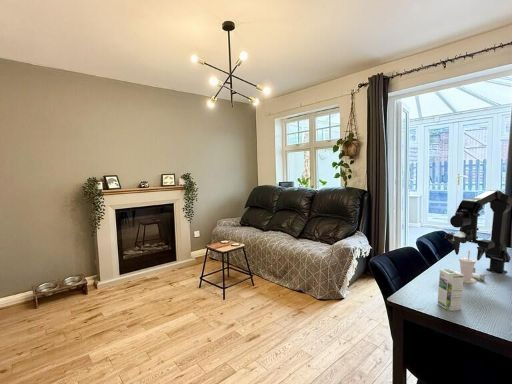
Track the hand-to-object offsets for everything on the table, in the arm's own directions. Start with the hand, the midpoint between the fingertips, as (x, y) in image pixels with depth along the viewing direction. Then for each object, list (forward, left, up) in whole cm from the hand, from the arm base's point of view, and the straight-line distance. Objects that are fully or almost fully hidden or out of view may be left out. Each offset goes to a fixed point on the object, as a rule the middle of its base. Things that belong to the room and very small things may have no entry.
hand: (467, 257), depth 132 cm
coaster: (0, 0, -11) cm, 11 cm away
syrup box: (+34, +13, -11) cm, 38 cm away
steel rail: (-8, 0, -11) cm, 14 cm away
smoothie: (0, 0, -11) cm, 11 cm away
